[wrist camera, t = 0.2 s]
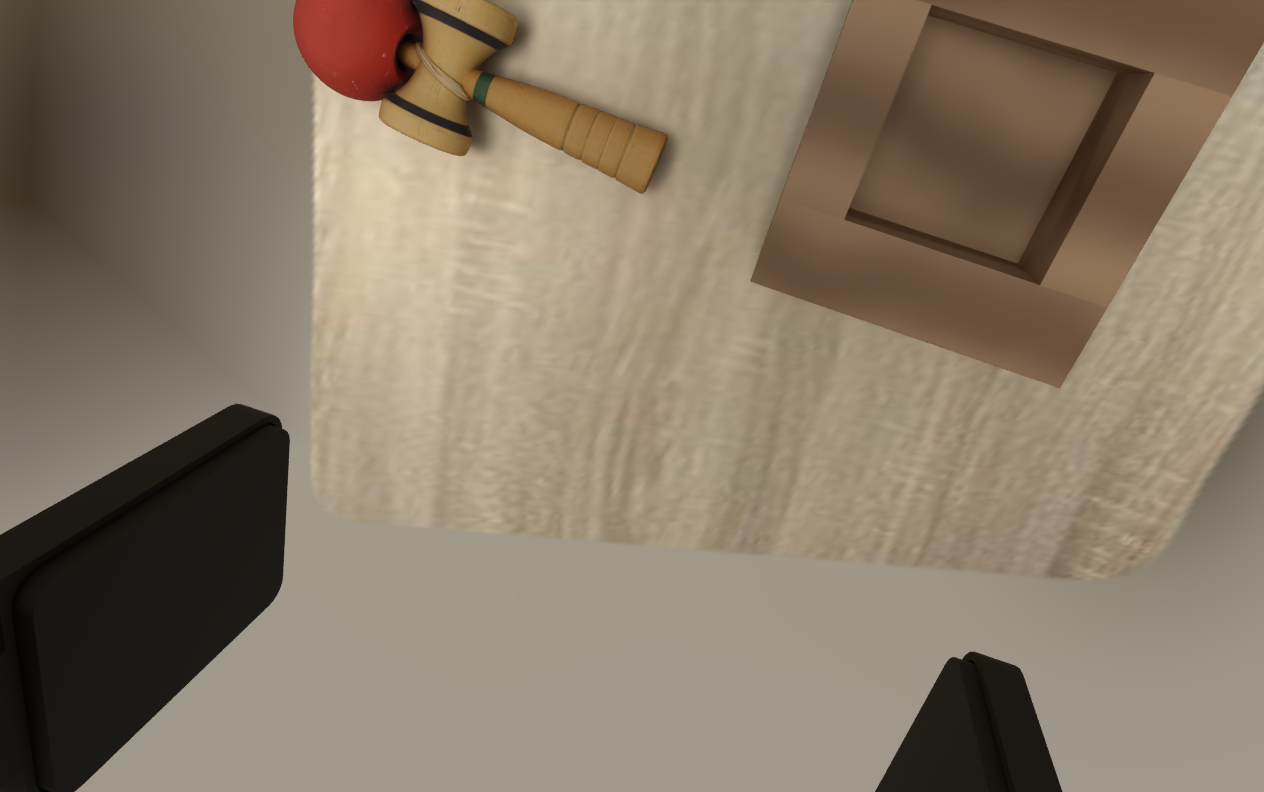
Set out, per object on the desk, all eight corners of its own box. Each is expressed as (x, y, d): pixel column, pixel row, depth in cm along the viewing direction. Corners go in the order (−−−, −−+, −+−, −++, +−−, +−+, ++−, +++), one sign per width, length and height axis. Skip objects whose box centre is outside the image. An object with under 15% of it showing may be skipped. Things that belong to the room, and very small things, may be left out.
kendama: (697, 65, 37) (342, -94, 36) (683, 100, 32) (270, -83, 31) (640, 204, 42) (323, 69, 41) (620, 254, 37) (258, 101, 35)
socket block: (891, -105, 32) (902, -134, 28) (1229, -5, 31) (1299, -18, 26) (758, 257, 39) (750, 281, 34) (1031, 350, 38) (1059, 388, 33)
